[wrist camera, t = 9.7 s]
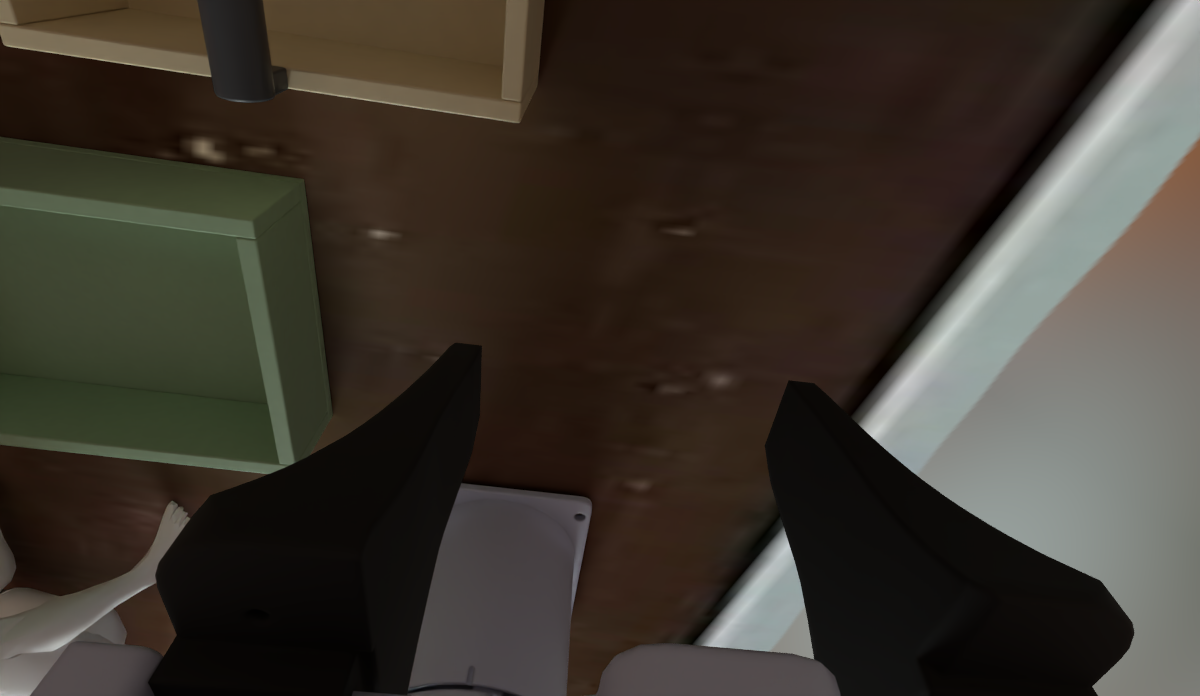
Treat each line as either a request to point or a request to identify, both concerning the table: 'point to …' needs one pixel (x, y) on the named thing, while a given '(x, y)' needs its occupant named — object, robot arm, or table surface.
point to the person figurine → (68, 612)
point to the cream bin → (309, 46)
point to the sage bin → (157, 310)
